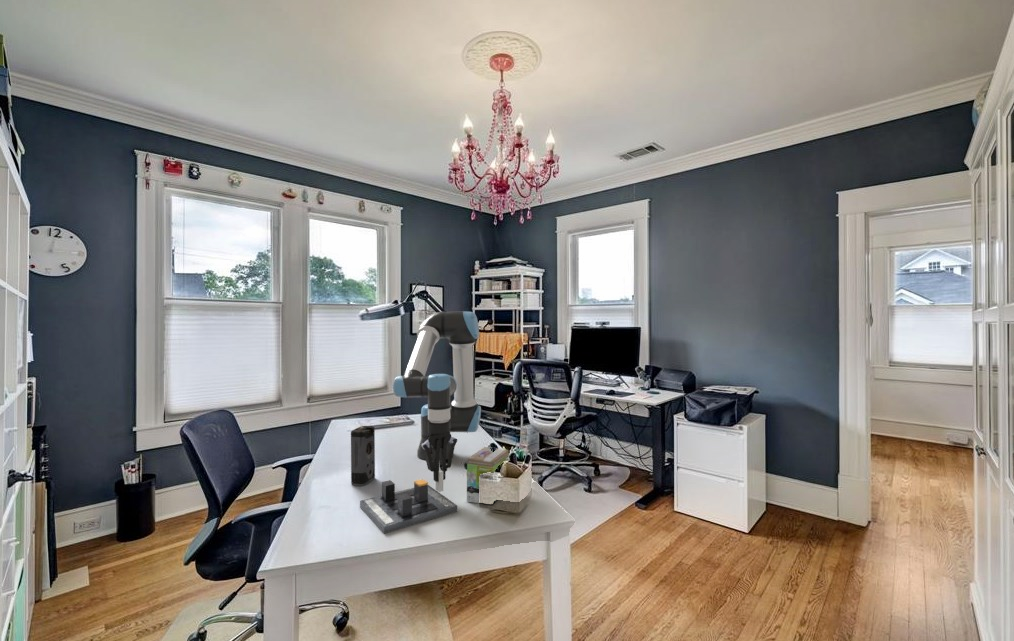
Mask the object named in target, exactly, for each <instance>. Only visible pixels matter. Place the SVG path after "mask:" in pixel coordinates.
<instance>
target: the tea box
mask: <svg viewBox="0 0 1014 641" xmlns="http://www.w3.org/2000/svg"><path fill="white" fill-rule="evenodd" d="M490 448H491V447H489V446H488V447H487V446H484V447H482V448H481V449H480V450H478V451H476V452H475V453H474V454H472V455H470V456H469V457H467V458H466V459H467V460H466V461H467V463H466V464H467V465H466V467H467V468H466V502H469V503H475V504H479V476H480V474H483V473H487V472H491V473H494V472H495V470H496V469H497V467H498V466H499V465H501V464H502V463H503V461H505V460H506V458H507V456H508V455H509V456H510V454H509V452H510V451H509V449H504V448H496V450H495V451H494V452H491V449H490Z"/></svg>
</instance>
